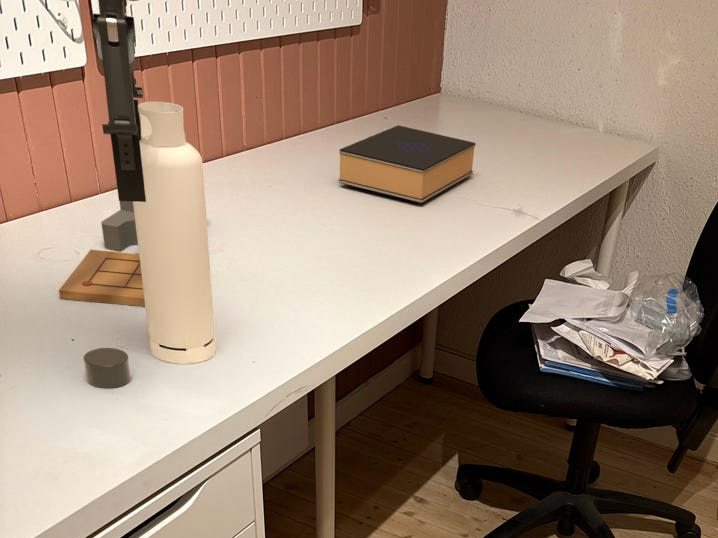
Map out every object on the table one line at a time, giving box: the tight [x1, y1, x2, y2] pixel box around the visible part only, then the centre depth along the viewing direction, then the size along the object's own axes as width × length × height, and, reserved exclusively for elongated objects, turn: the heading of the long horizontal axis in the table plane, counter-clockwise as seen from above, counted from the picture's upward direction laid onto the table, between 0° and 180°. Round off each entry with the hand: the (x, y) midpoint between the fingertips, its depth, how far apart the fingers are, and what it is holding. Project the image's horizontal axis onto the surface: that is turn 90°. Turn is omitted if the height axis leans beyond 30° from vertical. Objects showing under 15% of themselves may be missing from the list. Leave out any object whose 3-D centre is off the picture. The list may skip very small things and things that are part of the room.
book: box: [338, 125, 476, 204], centre depth 186 cm, size 17×25×7 cm
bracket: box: [100, 201, 138, 252], centre depth 148 cm, size 10×18×11 cm, turn 169°
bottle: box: [133, 101, 217, 365], centre depth 114 cm, size 8×8×28 cm
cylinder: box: [83, 347, 132, 389], centre depth 114 cm, size 5×5×3 cm
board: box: [58, 249, 145, 307], centre depth 136 cm, size 16×16×1 cm
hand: (132, 181), depth 106 cm, fingers open, 13 cm apart
